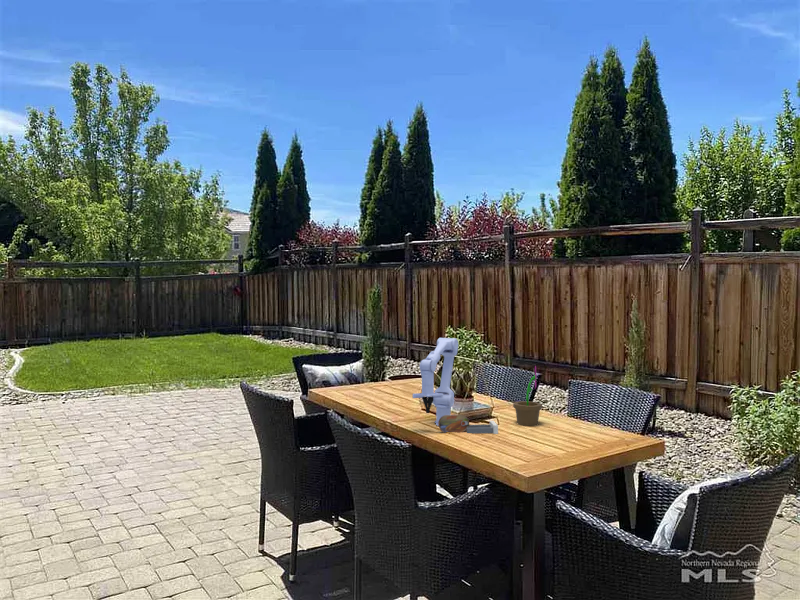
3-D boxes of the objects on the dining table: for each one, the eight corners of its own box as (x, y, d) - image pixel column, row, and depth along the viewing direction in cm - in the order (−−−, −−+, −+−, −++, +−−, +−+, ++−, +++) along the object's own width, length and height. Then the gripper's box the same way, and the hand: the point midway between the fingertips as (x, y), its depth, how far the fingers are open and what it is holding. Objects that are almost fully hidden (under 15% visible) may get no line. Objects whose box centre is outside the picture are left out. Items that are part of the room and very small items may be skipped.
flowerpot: (542, 427, 292) (542, 367, 291) (513, 426, 295) (513, 366, 294) (541, 421, 306) (541, 363, 305) (513, 420, 309) (513, 363, 308)
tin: (439, 433, 280) (439, 416, 280) (437, 432, 284) (437, 414, 283) (469, 432, 283) (469, 414, 283) (467, 430, 286) (467, 413, 286)
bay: (464, 429, 289) (464, 421, 289) (493, 428, 289) (493, 420, 289) (467, 434, 279) (467, 425, 279) (497, 433, 279) (498, 425, 279)
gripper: (413, 386, 278) (413, 414, 278) (443, 385, 279) (443, 414, 279) (412, 383, 285) (412, 411, 285) (442, 383, 286) (442, 411, 286)
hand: (427, 412), depth 283 cm, fingers closed
